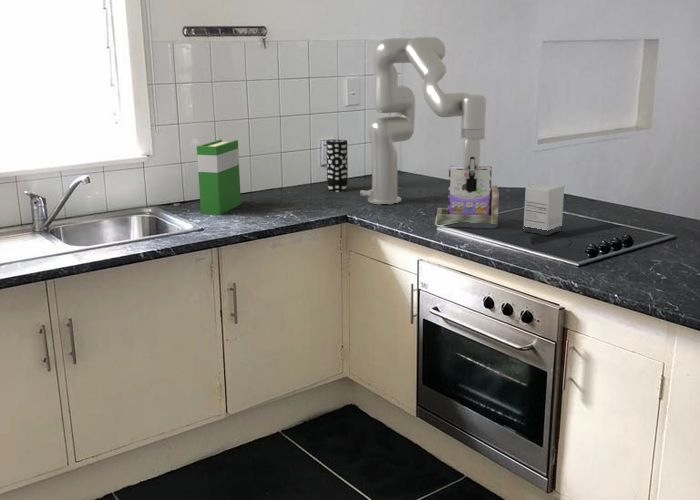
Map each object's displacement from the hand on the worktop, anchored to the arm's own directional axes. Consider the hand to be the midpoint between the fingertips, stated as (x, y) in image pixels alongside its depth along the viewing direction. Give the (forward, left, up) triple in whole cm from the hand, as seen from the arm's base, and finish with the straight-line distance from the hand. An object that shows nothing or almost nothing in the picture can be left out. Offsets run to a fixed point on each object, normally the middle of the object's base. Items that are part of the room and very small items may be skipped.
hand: (470, 188), depth 247 cm
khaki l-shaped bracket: (-1, 0, -12) cm, 12 cm away
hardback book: (-90, +14, -12) cm, 91 cm away
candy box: (0, 0, -9) cm, 9 cm away
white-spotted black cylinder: (-52, +52, -12) cm, 75 cm away
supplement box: (+23, -8, -12) cm, 27 cm away
